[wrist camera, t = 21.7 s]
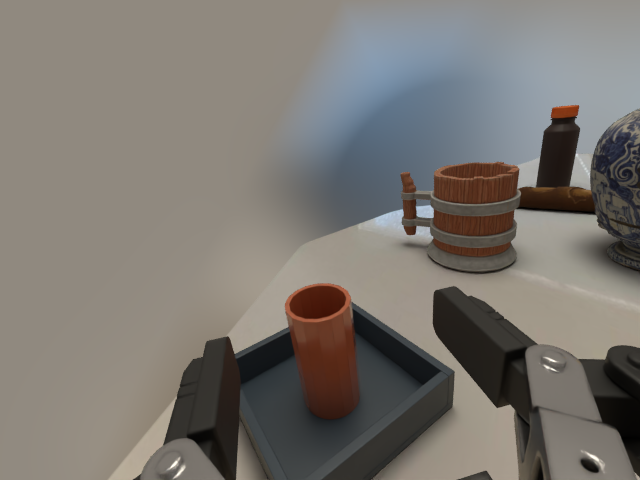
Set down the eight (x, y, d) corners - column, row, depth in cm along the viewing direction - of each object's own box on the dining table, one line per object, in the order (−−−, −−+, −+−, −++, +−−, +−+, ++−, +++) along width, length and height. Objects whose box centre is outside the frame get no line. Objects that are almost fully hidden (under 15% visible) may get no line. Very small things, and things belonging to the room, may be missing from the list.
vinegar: (540, 186, 83) (552, 106, 75) (572, 189, 78) (588, 103, 70) (531, 193, 79) (542, 109, 71) (563, 196, 74) (579, 106, 66)
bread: (680, 213, 58) (689, 187, 56) (686, 222, 55) (696, 194, 53) (465, 200, 81) (466, 181, 79) (459, 205, 77) (460, 186, 75)
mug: (509, 281, 45) (521, 180, 39) (387, 259, 56) (383, 178, 51) (521, 243, 55) (532, 159, 49) (415, 231, 66) (415, 161, 61)
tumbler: (324, 431, 27) (306, 332, 23) (294, 390, 31) (274, 300, 27) (372, 396, 29) (364, 301, 25) (338, 363, 34) (326, 276, 30)
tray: (298, 544, 21) (287, 507, 19) (228, 392, 33) (218, 362, 32) (452, 406, 28) (454, 371, 27) (348, 324, 41) (345, 297, 39)
